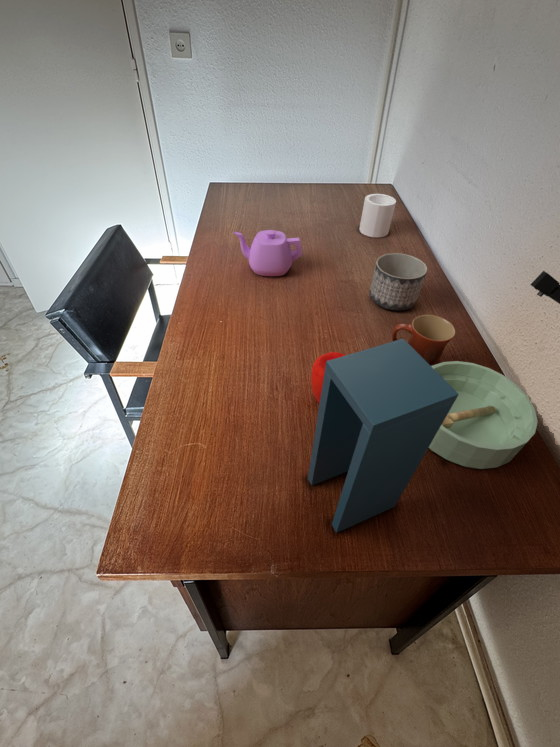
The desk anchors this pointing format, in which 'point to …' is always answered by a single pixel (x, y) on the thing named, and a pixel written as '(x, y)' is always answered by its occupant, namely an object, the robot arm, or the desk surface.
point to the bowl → (484, 417)
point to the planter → (397, 281)
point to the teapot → (270, 252)
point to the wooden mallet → (467, 415)
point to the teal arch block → (376, 426)
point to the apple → (321, 372)
